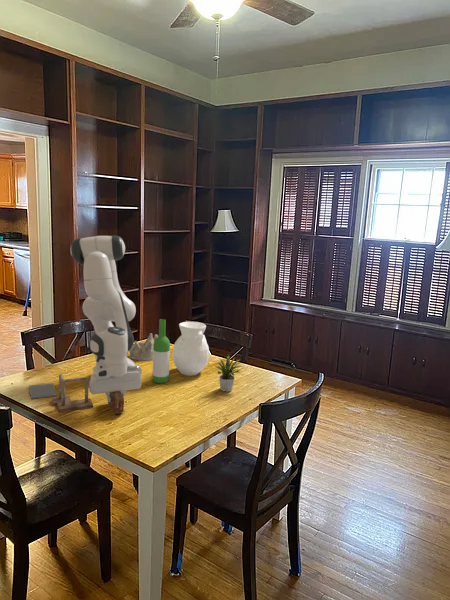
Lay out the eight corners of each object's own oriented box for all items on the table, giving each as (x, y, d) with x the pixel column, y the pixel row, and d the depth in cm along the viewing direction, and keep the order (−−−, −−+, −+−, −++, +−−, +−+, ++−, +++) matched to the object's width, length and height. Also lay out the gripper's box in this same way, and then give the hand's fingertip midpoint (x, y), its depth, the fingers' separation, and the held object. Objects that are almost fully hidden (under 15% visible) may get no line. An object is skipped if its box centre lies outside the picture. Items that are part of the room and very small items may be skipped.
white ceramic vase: (215, 375, 226) (217, 327, 222) (183, 381, 216) (185, 330, 211) (196, 364, 241) (198, 318, 237) (165, 369, 231) (167, 321, 226)
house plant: (225, 399, 197) (228, 364, 194) (203, 390, 206) (205, 356, 203) (246, 391, 208) (249, 357, 204) (224, 382, 217) (226, 350, 214)
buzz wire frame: (87, 396, 192) (87, 369, 190) (93, 407, 182) (93, 379, 179) (51, 400, 186) (51, 373, 183) (55, 412, 175) (54, 383, 173)
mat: (53, 384, 203) (53, 383, 203) (56, 396, 191) (56, 394, 191) (28, 386, 198) (28, 385, 198) (31, 399, 186) (31, 397, 186)
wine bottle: (171, 380, 216) (174, 319, 211) (163, 385, 209) (165, 322, 204) (158, 376, 219) (159, 317, 214) (149, 381, 212) (150, 320, 207)
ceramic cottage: (165, 354, 254) (164, 328, 251) (149, 363, 240) (148, 336, 237) (142, 351, 260) (140, 326, 257) (125, 360, 246) (123, 333, 243)
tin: (106, 402, 187) (106, 383, 185) (114, 401, 189) (114, 382, 187) (117, 417, 174) (117, 397, 173) (125, 416, 176) (125, 396, 174)
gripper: (139, 363, 186) (138, 394, 188) (88, 368, 176) (88, 401, 179) (143, 368, 180) (143, 400, 183) (91, 373, 171) (91, 407, 173)
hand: (115, 401), depth 181 cm, fingers open, 3 cm apart
